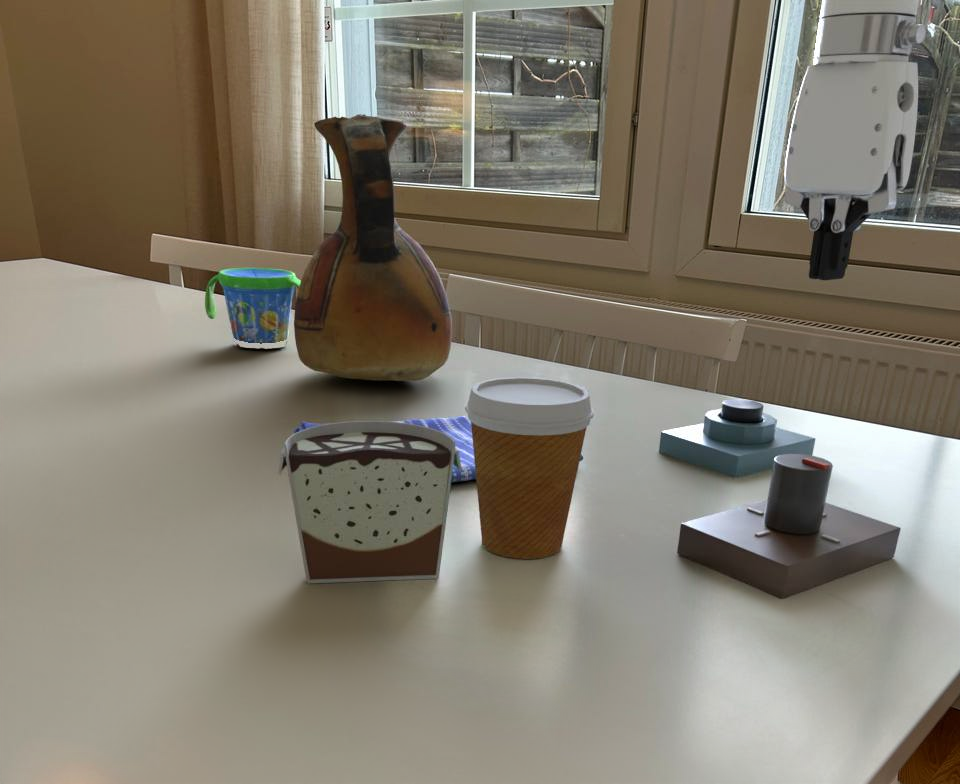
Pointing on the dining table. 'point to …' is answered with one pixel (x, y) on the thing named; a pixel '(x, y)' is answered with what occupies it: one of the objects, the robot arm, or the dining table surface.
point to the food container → (370, 499)
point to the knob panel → (786, 547)
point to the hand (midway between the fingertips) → (826, 278)
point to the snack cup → (255, 302)
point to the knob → (797, 493)
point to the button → (741, 411)
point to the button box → (733, 444)
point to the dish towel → (452, 427)
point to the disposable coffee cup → (526, 460)
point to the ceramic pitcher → (370, 273)
